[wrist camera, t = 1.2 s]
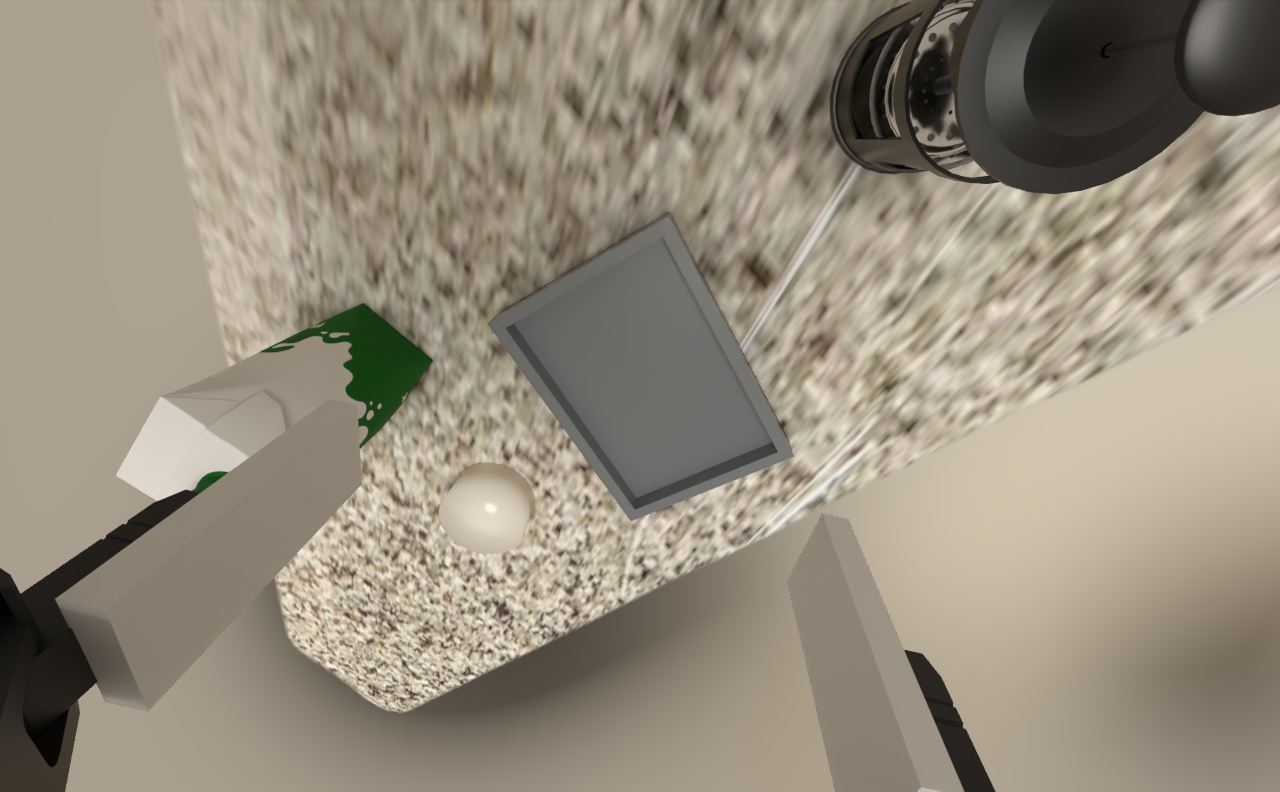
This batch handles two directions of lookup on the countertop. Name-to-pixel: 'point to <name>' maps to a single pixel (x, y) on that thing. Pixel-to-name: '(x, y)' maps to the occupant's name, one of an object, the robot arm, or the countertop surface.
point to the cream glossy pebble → (487, 508)
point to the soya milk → (273, 401)
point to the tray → (645, 372)
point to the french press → (1052, 84)
